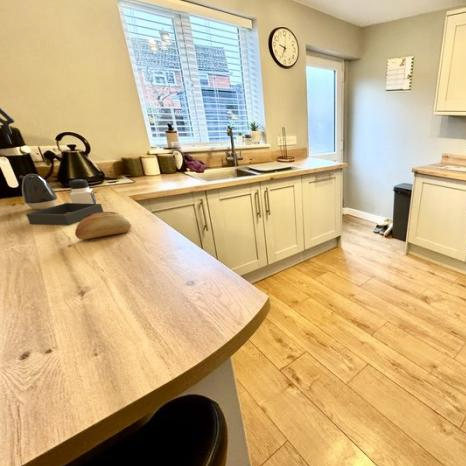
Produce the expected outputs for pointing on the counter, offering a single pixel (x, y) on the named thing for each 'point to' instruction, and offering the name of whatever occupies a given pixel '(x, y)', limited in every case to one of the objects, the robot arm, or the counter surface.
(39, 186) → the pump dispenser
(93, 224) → the bread roll
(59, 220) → the bin
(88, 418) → the counter surface
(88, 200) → the medicine bottle
